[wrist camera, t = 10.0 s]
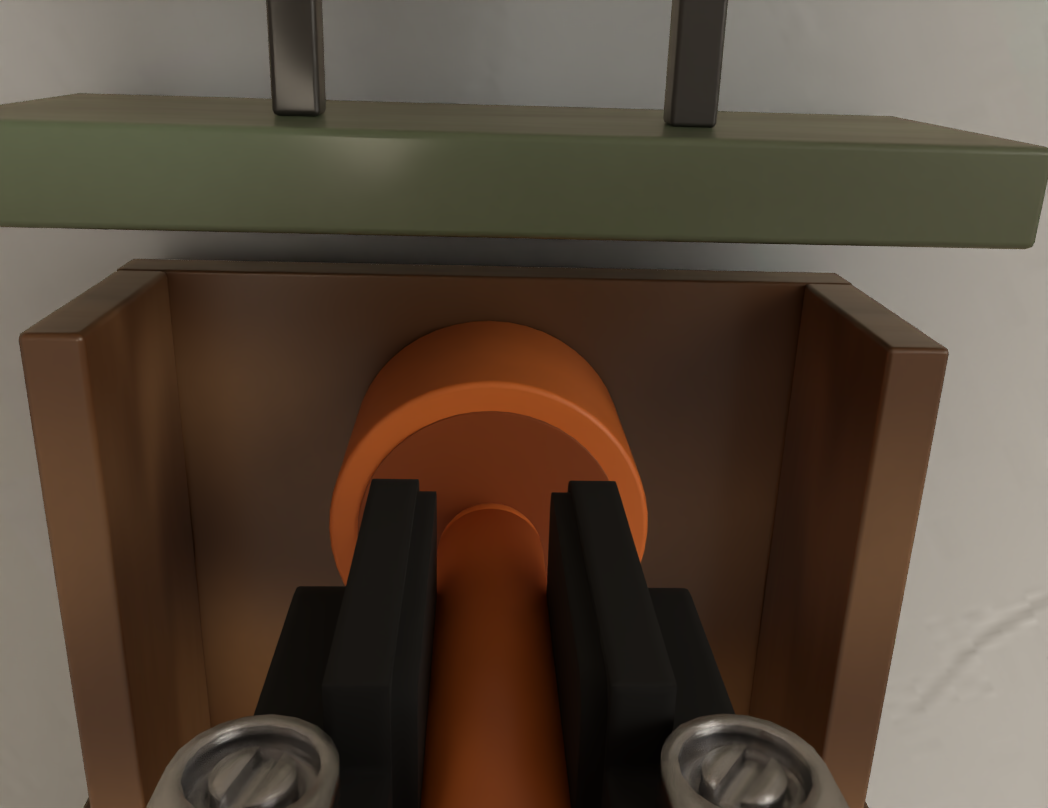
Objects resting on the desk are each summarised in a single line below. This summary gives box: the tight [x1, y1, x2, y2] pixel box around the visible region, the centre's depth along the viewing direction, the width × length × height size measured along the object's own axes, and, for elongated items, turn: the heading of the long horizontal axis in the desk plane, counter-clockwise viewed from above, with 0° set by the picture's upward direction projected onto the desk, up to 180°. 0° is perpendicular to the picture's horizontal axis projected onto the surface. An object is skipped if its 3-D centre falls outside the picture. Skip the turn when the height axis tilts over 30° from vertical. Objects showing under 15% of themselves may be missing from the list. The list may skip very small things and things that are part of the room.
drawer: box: [0, 0, 1048, 808], centre depth 15 cm, size 18×13×5 cm
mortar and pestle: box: [329, 321, 648, 808], centre depth 12 cm, size 4×4×10 cm
